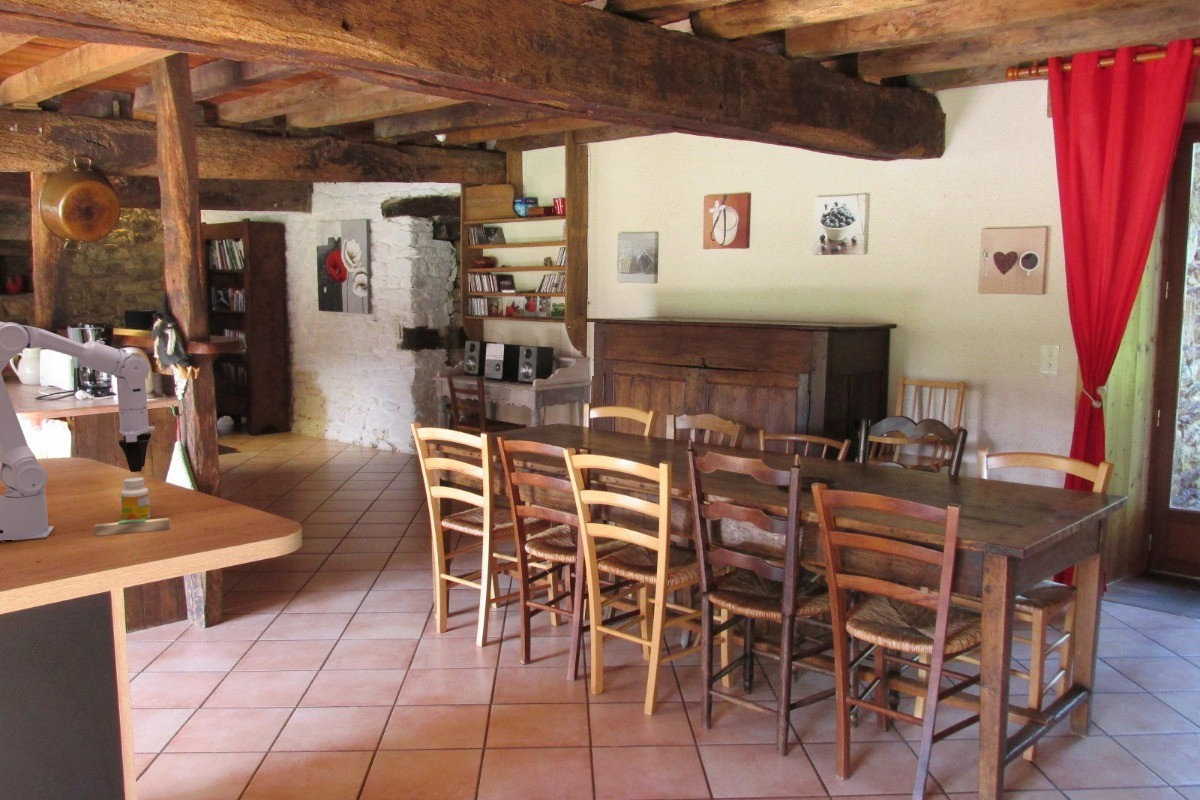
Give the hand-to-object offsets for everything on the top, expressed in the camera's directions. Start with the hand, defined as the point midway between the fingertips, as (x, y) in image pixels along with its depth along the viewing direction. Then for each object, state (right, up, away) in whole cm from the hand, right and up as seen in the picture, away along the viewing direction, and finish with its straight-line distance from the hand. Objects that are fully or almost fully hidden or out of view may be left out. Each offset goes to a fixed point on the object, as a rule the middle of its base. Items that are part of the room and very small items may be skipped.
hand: (137, 469), depth 216 cm
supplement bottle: (+3, -11, -6) cm, 13 cm away
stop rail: (+5, -12, -13) cm, 18 cm away
